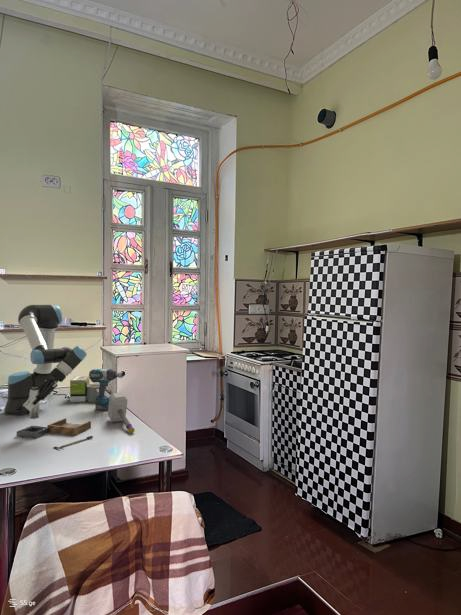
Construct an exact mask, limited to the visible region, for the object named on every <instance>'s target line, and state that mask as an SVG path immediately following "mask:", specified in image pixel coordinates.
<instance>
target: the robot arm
mask: <svg viewBox="0 0 461 615" xmlns="http://www.w3.org/2000/svg"><path fill="white" fill-rule="evenodd" d="M17 321H18V322H17V323H18V324H19V327H20V328H21V329H23V332H24V335H25V336H26V338H27V341H28V343H29V346H30V348H31V351H30V354H29V355H30V357H29V358H30V363H31V364H32V365H36V367H35V368H34V369H33V373H31V372H30V371H27V370H26V371H24V370H23V371H18V372H13V373H11V374H9V376H8V377H7V401H6V404H5V406H4V410H3V411H4V413H3V414H4V415H7V414H9V415H10V416H17V415H19V416H20V415H25V414H29V412H30V411H31V410H32V409H33V407H34V406H35V405H36V404H37V403H38V402H39V403H40V402H41V401H44V400H45V399H46V398H47V397H48V396H49V395H50V394H51V393H52V392H53V390H54V389H56V388H57V387H58V386H59V385H58V383H59V382H60V383H62V382H63V381H64V380H65V379H66V378H67V377H68V376H69V374H72V372H73V371H74V369H76V367H77V366H79V364H81V362H83V361H84V359H85V358H86V357H87V352H86V351H85V350H84V349H83V348H82V347H81V346H79V345H76V346H74V347H73V348H71V347H67V346H66V347H65V346H64V347H61V348H54V345H55V344H54V343H55V331H56V330H57V329H58V327H59V325H61V324H62V322H63V313H62V311H61V308H60V306H58V305H56V304H29V305H26V306H25V307H23V308H22V309H21V311H19V313H18V318H17ZM53 364H57V365H56V366H55V367H54V368H53V367H52V366H53ZM32 387H38V389H40V394H39V395H38V396H36V397H37V398H36V397H35V398H34V399H33V400H32V401H31V402H30V389H31V388H32ZM9 415H8V416H9Z"/></svg>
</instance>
